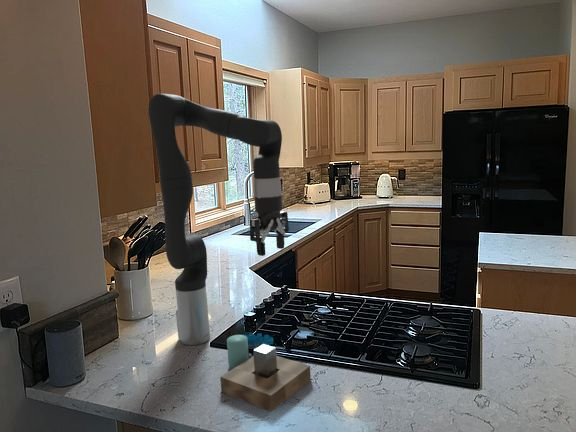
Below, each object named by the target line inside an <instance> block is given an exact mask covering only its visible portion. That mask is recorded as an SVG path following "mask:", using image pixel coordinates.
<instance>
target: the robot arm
mask: <svg viewBox="0 0 576 432" xmlns="http://www.w3.org/2000/svg"><path fill="white" fill-rule="evenodd" d="M147 109H148V118H149V122H150V126H151V133H152V136H153V139H154V140H153V141H154V145H155V151H156V157H157V158H156V159H157V164H158V172H159V182H160V191H161V195H162V203H163V204H162V205H163V215H164V235H165V239H164V240H165V242H164V243H165V254H166V258H167V261H168V263H169V265H170V266H171V267H172V268H173V269H174V270H182V272H181V273H180V274H179V275H178V276H177V277H176V278H175V281H174V284H175V285H174V286H175V288H174V289H175V296H176V306H177V309H176V311H175V316H176V325H177V326H176V327H177V336H178V340H180V343H181V344H183V345H187V346H196V345H197V346H198V345H201V344H204V343H206V342H208V341H209V340H210V339H211V331H210V320H209V319H210V317H209V309H208V308H209V307H208V306H209V305H208V297H207V296H208V294H207V285H206V284H207V283H206V282H207V281H206V280H207V278H208V253H207V252H208V251H207V247H206V244H205V241H204V239H203V238H202V237H201V236H200V235H198V234H195V233H193V234H191V233H190V234H187V235H186V229H185V227H186V217H187V214H188V212H189V208H190V206H191V203H192V199H193V196H194V187H193V186H194V185H193V178H192V170H191V167H190V165H189V163H188V161H187V159H186V158H185V157H184V155H183V152H182V151H181V149H180V146H179V145H178V140H177V135H176V134H177V133H176V127H180V126H181V127H182V126H185V127H195V128H201V129H204V130H205V131H208V132H209V133H212V134H214V135H217V136H219V137H220V136H221V137H223V138H227V139H232V140H238V141H239V142H241V143H244V144H246V145H248V146H249V145H250V146H253V147H257V148H258V155H256V156H255V158H254V159H253V161H252V163H253V164H252V165H253V197H254V198H253V199H254V211H255V212H256V213H257V218H250V219H249V240H250V241H251V242H255V243H256V253H257V255H258V256H260V257H264V256H266V243H265V239H266V237H267V236H268V235H269V234H270V232H272V231H274V233H275V234H276V235H275V237H276V238H275V239H276V240H275V241H276V248H277V249H278V250H279V249H280V250H283V249H285V235H286V234H287V233H289V230H290V228H289V218H288V217H289V216H288V211H282V210H283V196H282V194H283V193H282V181H281V176H280V157H281V152H282V151H281V150H282V143H283V135H282V129H281V127H280V125H279V123H278V122H276V121H274V120H271V119H256V118H252V117H251V118H250V117H247V116H246V115H244V114H241V113H237V112H232V111H228V110H225V109H224V110H222V109H218V108H212V107H208V106H204V105H202V104H198V103H196V102H193V101H192V100H189V99H187V98H185V97H183V96H180V95H177V94H170V93H156V94H154V95H153V96H152V97H151V98H150V100H149V102H148V108H147Z"/></svg>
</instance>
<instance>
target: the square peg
mask: <svg viewBox="0 0 576 432" xmlns="http://www.w3.org/2000/svg"><path fill="white" fill-rule="evenodd" d="M252 351H253V356H254V369H255V375H258V376H261V377H264V378H267V379H268V378H269V377H270V376H272V375H273V374H275V373H276V372H277V359H276V356H277V347H276V346H271V345H270V346H269V345H265V344H263V345H261V346H259V347H258V348H256V349H254V348H253V350H252Z"/></svg>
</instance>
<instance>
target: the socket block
mask: <svg viewBox="0 0 576 432" xmlns="http://www.w3.org/2000/svg"><path fill="white" fill-rule="evenodd" d="M276 359H277V372H276V373H275V374H273V375H272V376H270V377H269V378H268V379H267V378H264V377H261V376H258V375H255V369H254V355H253V356H251V357H249V359H248V360H247V361H245V362H243V363H242V364H240V365H239V366H237V367H235V368H234V369H232V370H228V371H227V372H225V373H224V374H223V375H221V376H220V390H221V391H220V392H222V393H224V394H227V395H228V396H231V397H233V398H237V399H239V400H241V401H244V402H246V403H249V404H252V405H254V406H256V407H259V408H262V409H265V410H267V411H269V412H273V411H274V410H276V409H277V408H279V406H281V405H282V404H283V403H285V402H286V401H287V400H288V399H290V398H291V397H292V396H294V395H295V394H296V393H297V392H298V391H299V390H301V389H302V388H303V387H304V386H306V385H307V384H309V382H311V365H309V364H305V363H302V362H299V361H295V360H291V359H289V358H285V357H282V356H279V355H276Z"/></svg>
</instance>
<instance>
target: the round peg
mask: <svg viewBox="0 0 576 432" xmlns="http://www.w3.org/2000/svg"><path fill="white" fill-rule="evenodd" d="M244 335H245V334H234V335H231V336H229V337H228V338H227V339H226V348H227V358H228V359H227V361H228V362H227V363H228V369H229V371H231V370H232V369H234V368H235V367H237V366H239V365H240V364H242V363H243V362H245V361H247V360H248V359H250V356H249V349H248V340H247V337H246V336H244Z"/></svg>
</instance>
